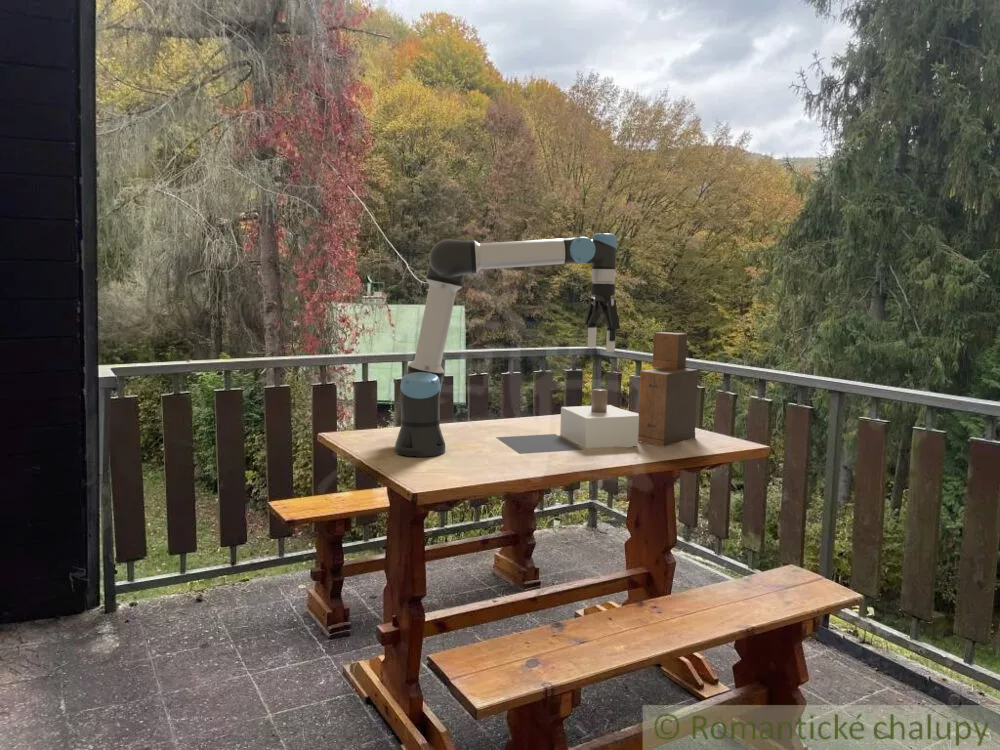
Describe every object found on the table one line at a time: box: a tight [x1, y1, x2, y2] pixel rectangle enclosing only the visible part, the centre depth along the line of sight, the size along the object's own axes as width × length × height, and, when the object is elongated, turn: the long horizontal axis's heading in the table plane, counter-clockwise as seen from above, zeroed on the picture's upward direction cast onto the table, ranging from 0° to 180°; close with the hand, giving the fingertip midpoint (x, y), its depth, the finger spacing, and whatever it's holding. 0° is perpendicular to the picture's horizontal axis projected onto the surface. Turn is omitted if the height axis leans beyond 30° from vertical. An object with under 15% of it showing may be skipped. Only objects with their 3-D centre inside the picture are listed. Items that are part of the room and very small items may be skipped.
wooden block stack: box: [638, 331, 699, 447], centre depth 243 cm, size 19×14×35 cm
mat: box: [495, 433, 585, 455], centre depth 233 cm, size 21×23×1 cm
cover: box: [559, 388, 639, 449], centre depth 239 cm, size 18×20×17 cm
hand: (600, 349), depth 236 cm, fingers open, 13 cm apart
